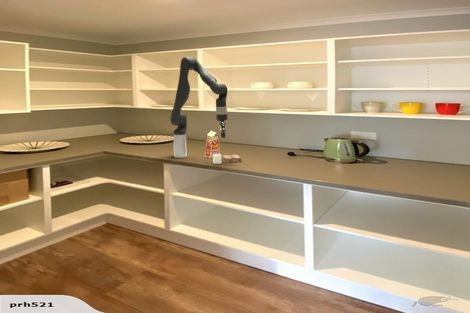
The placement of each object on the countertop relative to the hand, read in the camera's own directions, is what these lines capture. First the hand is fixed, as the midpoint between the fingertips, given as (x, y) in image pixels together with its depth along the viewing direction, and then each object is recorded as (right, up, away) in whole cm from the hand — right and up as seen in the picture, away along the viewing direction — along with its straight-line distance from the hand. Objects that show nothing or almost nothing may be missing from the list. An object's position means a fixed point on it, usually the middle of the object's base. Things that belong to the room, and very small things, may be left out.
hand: (223, 137), depth 262 cm
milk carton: (-9, -14, +27) cm, 32 cm away
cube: (-4, -18, +4) cm, 19 cm away
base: (+5, -16, +11) cm, 20 cm away
